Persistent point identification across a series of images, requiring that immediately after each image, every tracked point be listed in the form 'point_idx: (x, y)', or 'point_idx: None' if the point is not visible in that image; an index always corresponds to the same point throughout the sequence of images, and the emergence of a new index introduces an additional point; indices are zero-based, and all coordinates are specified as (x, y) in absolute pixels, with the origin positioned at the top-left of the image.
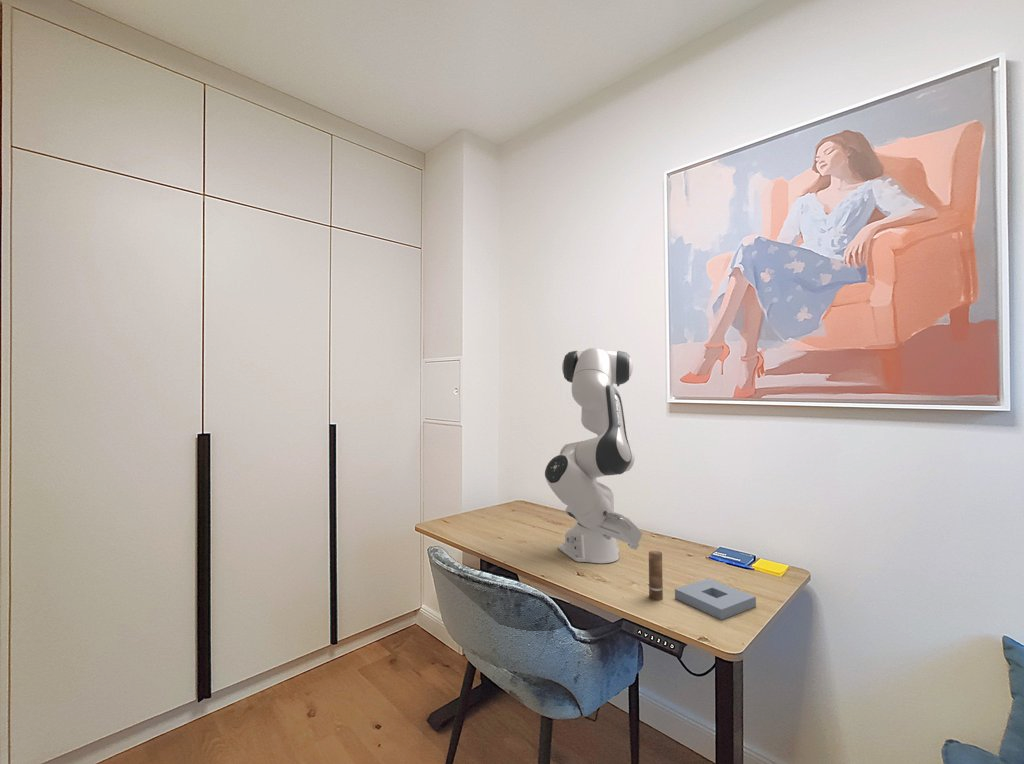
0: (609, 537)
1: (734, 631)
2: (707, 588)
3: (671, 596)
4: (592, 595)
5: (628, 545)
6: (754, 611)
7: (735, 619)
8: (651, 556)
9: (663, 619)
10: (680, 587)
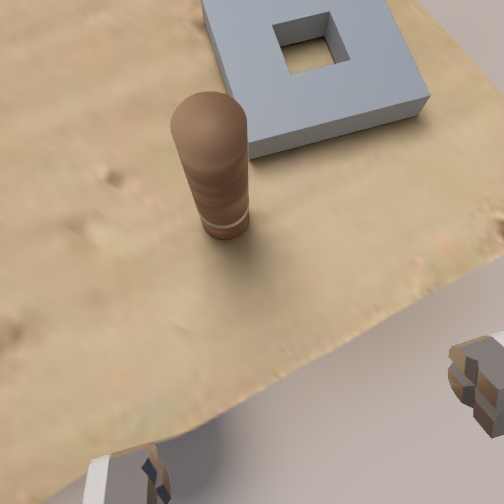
0: (164, 482)
1: (479, 122)
2: (274, 42)
3: None
4: None
5: (488, 429)
6: None
7: None
8: (224, 162)
9: (377, 278)
10: None
